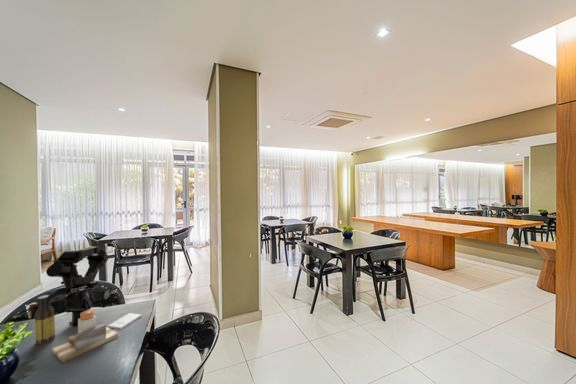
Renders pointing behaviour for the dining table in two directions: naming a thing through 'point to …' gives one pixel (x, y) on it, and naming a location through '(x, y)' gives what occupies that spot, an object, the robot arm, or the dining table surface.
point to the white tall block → (86, 321)
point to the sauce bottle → (44, 321)
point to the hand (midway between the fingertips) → (80, 307)
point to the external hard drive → (124, 321)
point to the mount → (84, 342)
